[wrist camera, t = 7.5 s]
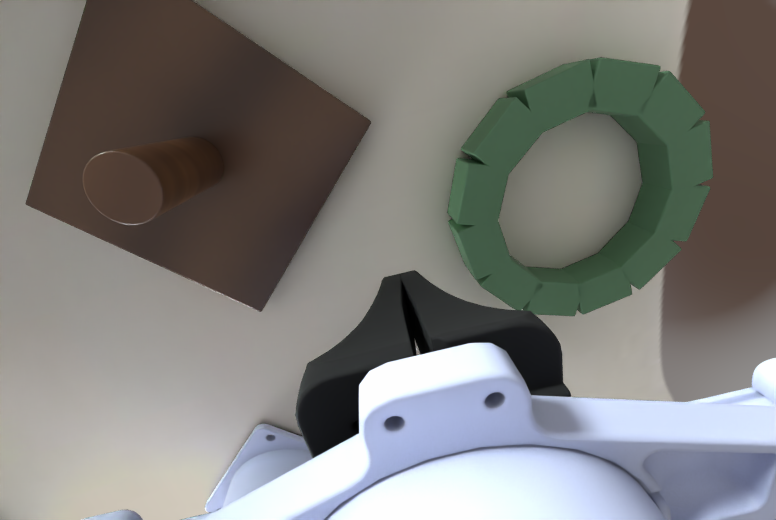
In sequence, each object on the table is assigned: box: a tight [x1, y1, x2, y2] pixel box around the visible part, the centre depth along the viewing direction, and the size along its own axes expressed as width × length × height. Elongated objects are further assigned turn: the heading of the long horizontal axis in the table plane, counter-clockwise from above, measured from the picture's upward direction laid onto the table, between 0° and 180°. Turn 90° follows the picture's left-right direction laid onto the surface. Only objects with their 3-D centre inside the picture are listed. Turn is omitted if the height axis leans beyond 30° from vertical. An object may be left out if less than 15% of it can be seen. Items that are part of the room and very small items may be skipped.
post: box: [26, 0, 371, 312], centre depth 12 cm, size 10×10×6 cm
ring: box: [448, 57, 713, 316], centre depth 16 cm, size 11×11×2 cm
